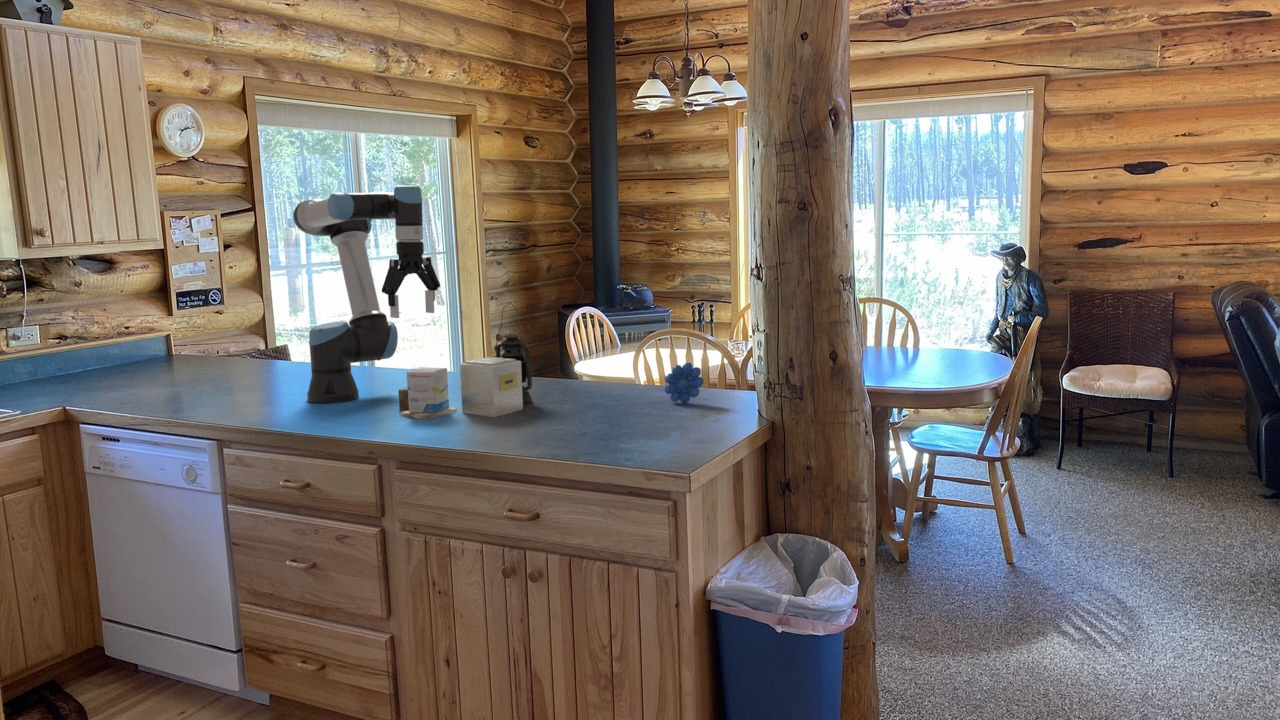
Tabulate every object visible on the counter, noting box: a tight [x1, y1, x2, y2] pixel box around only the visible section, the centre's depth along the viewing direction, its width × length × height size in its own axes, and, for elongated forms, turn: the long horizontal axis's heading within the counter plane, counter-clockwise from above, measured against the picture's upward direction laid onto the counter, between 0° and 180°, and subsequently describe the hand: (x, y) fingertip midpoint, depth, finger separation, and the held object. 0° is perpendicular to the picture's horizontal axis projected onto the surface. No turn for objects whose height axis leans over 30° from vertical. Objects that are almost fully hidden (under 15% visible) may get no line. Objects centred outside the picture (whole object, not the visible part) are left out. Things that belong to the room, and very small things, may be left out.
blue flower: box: [664, 362, 704, 404], centre depth 276 cm, size 12×7×12 cm, turn 74°
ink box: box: [406, 366, 450, 413], centre depth 268 cm, size 9×8×12 cm
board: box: [400, 406, 458, 420], centre depth 269 cm, size 10×12×1 cm
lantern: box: [494, 301, 533, 406], centre depth 280 cm, size 12×11×30 cm
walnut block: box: [397, 386, 409, 412], centre depth 276 cm, size 5×5×6 cm
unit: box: [459, 356, 524, 418], centre depth 269 cm, size 12×12×15 cm
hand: (412, 315), depth 274 cm, fingers open, 13 cm apart
